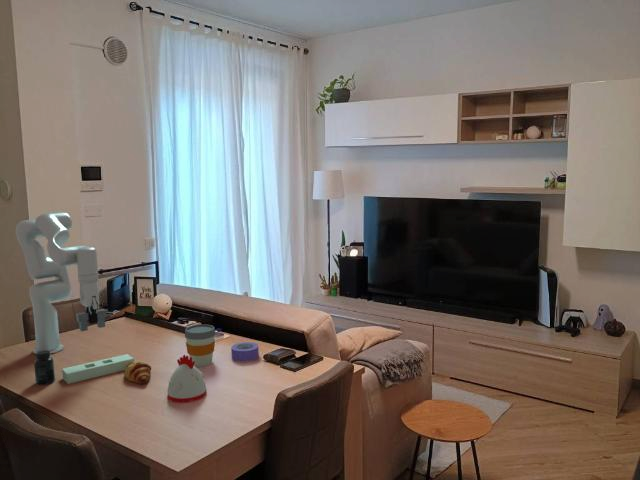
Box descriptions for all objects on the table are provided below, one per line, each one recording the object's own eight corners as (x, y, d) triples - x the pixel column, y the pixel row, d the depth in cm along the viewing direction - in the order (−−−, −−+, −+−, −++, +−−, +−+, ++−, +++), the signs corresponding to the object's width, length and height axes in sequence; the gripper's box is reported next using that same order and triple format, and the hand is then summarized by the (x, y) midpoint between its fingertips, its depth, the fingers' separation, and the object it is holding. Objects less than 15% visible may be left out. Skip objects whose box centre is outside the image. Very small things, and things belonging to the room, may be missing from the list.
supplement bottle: (59, 379, 216) (56, 350, 214) (45, 386, 209) (42, 356, 208) (45, 377, 218) (43, 348, 216) (31, 384, 212) (28, 354, 210)
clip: (77, 330, 222) (75, 313, 221) (104, 324, 229) (103, 308, 228) (79, 332, 220) (78, 315, 219) (107, 326, 227) (106, 310, 226)
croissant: (124, 378, 225) (114, 364, 222) (145, 363, 230) (135, 348, 227) (139, 395, 208) (127, 379, 205) (161, 378, 212) (150, 362, 209)
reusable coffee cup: (190, 370, 224) (188, 334, 222) (182, 360, 235) (181, 326, 233) (220, 364, 230) (218, 330, 228) (211, 355, 241) (210, 322, 239)
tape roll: (226, 360, 236) (226, 348, 235) (240, 351, 247) (239, 340, 246) (250, 363, 232) (250, 352, 231) (263, 354, 242) (263, 343, 242)
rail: (62, 378, 217) (62, 368, 216) (128, 363, 233) (127, 354, 232) (67, 383, 211) (67, 373, 211) (134, 367, 228) (133, 358, 227)
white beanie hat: (186, 406, 191) (184, 365, 189) (159, 397, 199) (157, 357, 197) (214, 391, 203) (212, 353, 201) (187, 384, 210) (185, 346, 208)
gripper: (72, 276, 226) (76, 320, 228) (85, 282, 213) (88, 328, 215) (91, 274, 230) (95, 316, 233) (104, 279, 218) (108, 324, 220)
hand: (92, 321), depth 224 cm, fingers closed on clip, 3 cm apart
